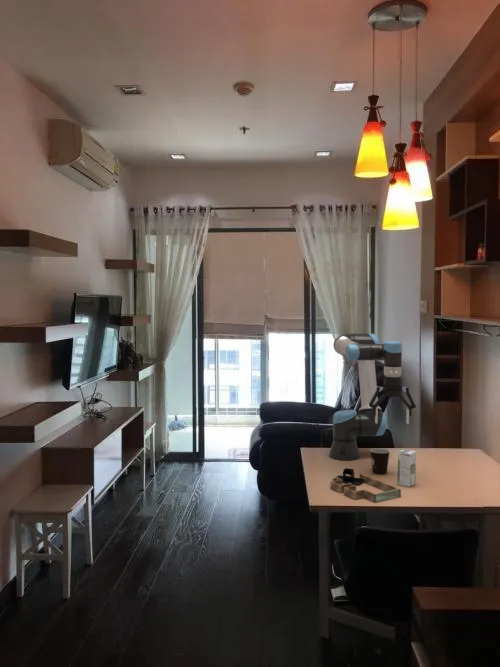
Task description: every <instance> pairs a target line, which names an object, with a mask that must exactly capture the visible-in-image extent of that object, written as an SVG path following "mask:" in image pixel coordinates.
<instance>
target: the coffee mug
mask: <svg viewBox="0 0 500 667" xmlns="http://www.w3.org/2000/svg"><path fill="white" fill-rule="evenodd" d="M369 452H370V460H371V471H372V474H375V475H387V474H388V466H389V459H390V450H388V449H385V448H372V449H370V451H369Z"/></svg>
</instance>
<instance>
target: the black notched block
mask: <svg viewBox="0 0 500 667" xmlns="http://www.w3.org/2000/svg"><path fill="white" fill-rule="evenodd" d="M342 470H343V471H342V474H341V475H339V474H338V475H337V476H336V477H334V478H332V481H335V480H336V478H339V479H342V483H351V484H356V485H361V484H362V483H364V482H363V481H364V479H362V478H360V477H355V471H354V469H353V468H347V467H345V468H344V469H342Z"/></svg>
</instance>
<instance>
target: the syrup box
mask: <svg viewBox="0 0 500 667" xmlns="http://www.w3.org/2000/svg"><path fill="white" fill-rule="evenodd" d="M416 465H417V451H415V450H412V449H405V448H404V449H402V450H400V451H398V453H397V481H396V482H397V485H398V486H402V487H407V488H411V487H412V486H414V485H415V484H416V473H417V472H416V470H417V469H416V468H417V466H416Z"/></svg>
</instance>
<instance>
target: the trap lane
mask: <svg viewBox="0 0 500 667" xmlns="http://www.w3.org/2000/svg"><path fill="white" fill-rule="evenodd" d="M359 478H362V479H364V481H363V482H362V483H365V484H367V485H370V486H371V487H374V488H376V489H379V490H381V492H377V493H374V492H372V491H369V490H367V489H365V488H364V489H360V490H357V485H355V484H354V483H349V482H347V483H343V482H342V479H339V478H336V480H331V481H330V482H329V483H330V485H329V486H330V489H331V490H333V491H335V492H337V493H341V494H342V493H343V495H344V496H346V497H348V498H350V499H352V500H359V499H366V500H368V501H371V502H372V503H379V502H383V501H387V500H388V501H389V500H393V499H397V498H401V497H402V494H401V493H402V489H401V488H398V487H397V486H394V485H391V484H388V483H387V482H384V481H381V480H379V479H376V478H373V477H370V476H368V475H365V474H364V473H359Z"/></svg>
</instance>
